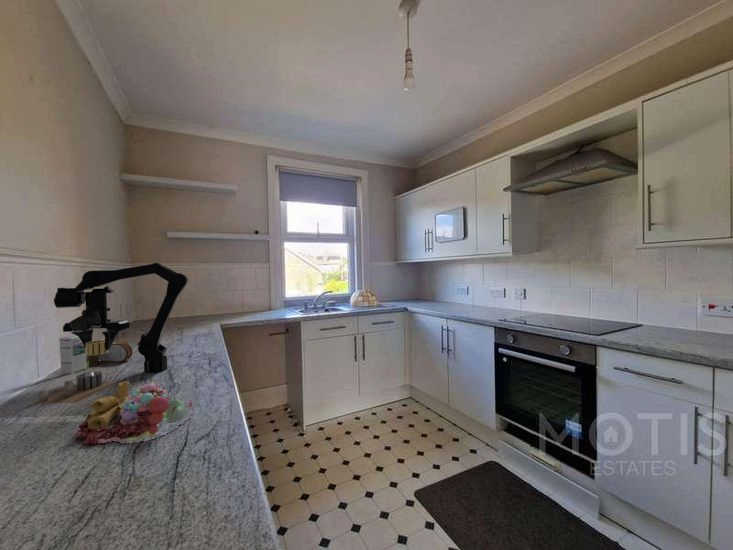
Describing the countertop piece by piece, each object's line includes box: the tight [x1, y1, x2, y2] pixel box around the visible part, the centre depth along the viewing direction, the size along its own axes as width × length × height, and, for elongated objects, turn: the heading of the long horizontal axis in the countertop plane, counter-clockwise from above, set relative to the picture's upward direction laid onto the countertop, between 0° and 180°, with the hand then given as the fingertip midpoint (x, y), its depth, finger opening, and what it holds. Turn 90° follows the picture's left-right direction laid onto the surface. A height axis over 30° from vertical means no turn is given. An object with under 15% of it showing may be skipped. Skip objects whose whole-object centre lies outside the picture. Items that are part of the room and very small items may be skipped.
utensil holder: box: [88, 338, 100, 368], centre depth 127 cm, size 6×6×12 cm
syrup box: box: [58, 334, 90, 376], centre depth 117 cm, size 6×6×14 cm
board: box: [33, 380, 118, 405], centre depth 98 cm, size 12×16×6 cm
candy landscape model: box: [74, 380, 193, 445], centre depth 82 cm, size 25×24×9 cm
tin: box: [99, 341, 133, 363], centre depth 133 cm, size 15×3×8 cm, turn 85°
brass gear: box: [86, 339, 110, 356], centre depth 110 cm, size 6×6×4 cm
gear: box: [75, 370, 103, 390], centre depth 101 cm, size 6×6×4 cm
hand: (97, 350), depth 110 cm, fingers closed on brass gear, 6 cm apart
